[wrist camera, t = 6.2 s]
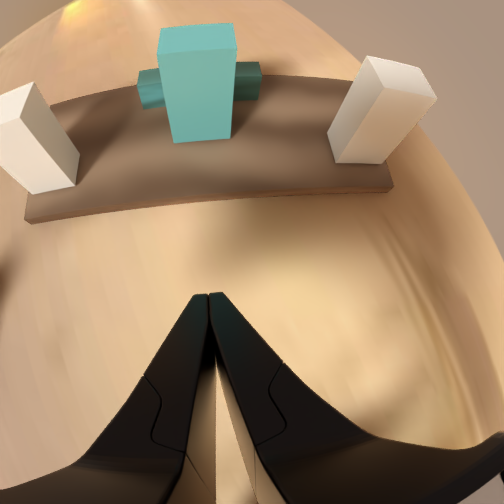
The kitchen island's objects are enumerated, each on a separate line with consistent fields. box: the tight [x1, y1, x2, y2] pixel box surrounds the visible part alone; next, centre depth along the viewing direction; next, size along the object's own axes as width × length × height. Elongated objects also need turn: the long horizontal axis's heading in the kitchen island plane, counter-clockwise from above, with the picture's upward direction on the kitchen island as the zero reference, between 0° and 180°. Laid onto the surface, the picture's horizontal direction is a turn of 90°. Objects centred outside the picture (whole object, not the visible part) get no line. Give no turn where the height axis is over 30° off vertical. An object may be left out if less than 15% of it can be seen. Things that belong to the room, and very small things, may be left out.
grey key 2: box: [0, 82, 80, 195], centre depth 16 cm, size 3×4×9 cm
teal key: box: [157, 23, 237, 143], centre depth 18 cm, size 3×4×9 cm
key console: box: [24, 62, 394, 224], centre depth 22 cm, size 12×31×4 cm, turn 97°
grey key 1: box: [327, 56, 437, 164], centre depth 19 cm, size 3×4×9 cm
